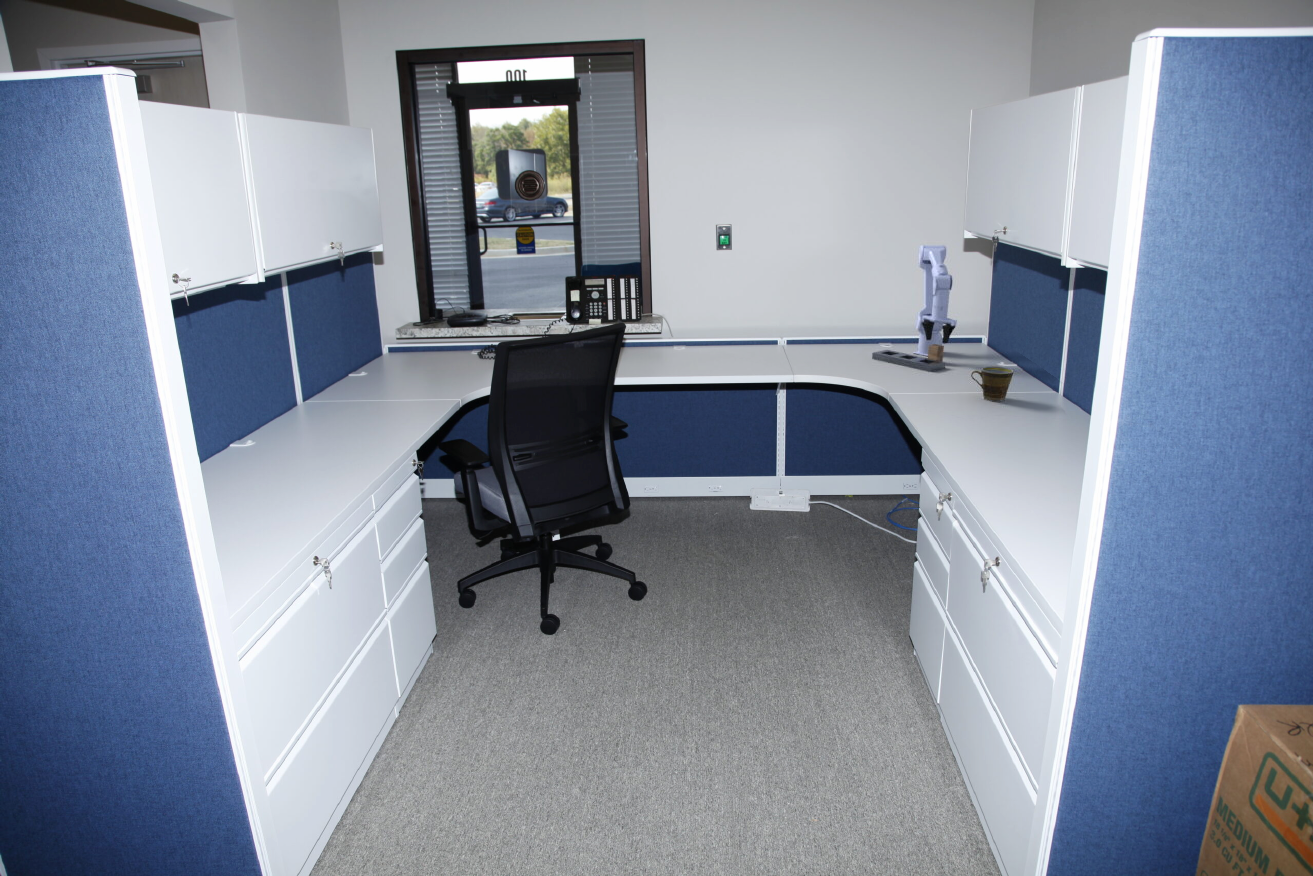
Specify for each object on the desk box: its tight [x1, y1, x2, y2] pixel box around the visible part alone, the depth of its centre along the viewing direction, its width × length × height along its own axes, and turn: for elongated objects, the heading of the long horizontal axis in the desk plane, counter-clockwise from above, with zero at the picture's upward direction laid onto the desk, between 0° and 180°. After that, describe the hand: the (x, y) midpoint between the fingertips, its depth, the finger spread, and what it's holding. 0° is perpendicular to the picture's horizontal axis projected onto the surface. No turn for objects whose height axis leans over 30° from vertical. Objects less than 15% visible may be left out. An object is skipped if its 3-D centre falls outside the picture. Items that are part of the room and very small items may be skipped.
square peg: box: [927, 344, 945, 362], centre depth 332 cm, size 4×4×7 cm
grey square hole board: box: [871, 349, 947, 373], centre depth 332 cm, size 9×28×2 cm, turn 36°
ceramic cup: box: [971, 366, 1014, 402], centre depth 282 cm, size 13×10×10 cm
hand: (936, 341), depth 330 cm, fingers open, 7 cm apart
